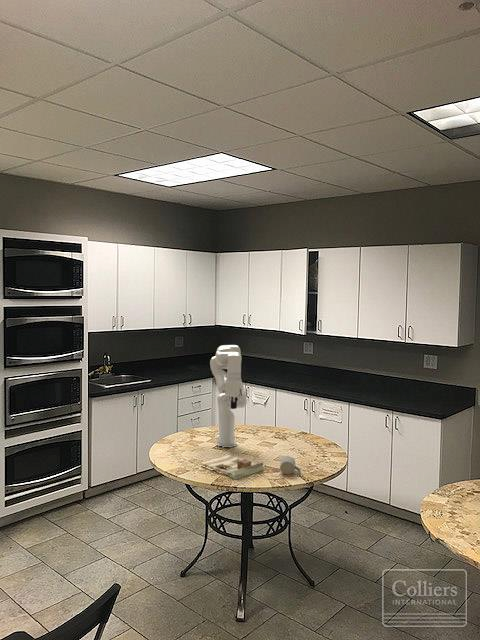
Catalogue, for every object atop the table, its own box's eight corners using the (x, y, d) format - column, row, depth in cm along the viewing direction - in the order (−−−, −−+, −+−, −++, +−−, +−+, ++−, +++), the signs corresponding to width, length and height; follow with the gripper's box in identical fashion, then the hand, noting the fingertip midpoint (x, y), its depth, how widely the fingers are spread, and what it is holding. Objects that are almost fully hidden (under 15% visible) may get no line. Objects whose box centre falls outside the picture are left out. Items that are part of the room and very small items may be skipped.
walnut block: (237, 468, 272) (237, 460, 272) (244, 466, 275) (244, 458, 275) (244, 470, 268) (244, 463, 268) (251, 468, 272) (251, 461, 272)
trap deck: (201, 466, 280) (201, 459, 280) (228, 458, 295) (228, 451, 294) (235, 479, 262) (235, 471, 262) (262, 469, 276) (263, 462, 276)
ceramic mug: (279, 475, 269) (280, 460, 268) (280, 469, 277) (280, 455, 276) (300, 476, 268) (301, 461, 267) (300, 471, 276) (301, 456, 275)
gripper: (220, 375, 299) (219, 407, 300) (238, 378, 288) (238, 411, 289) (229, 373, 304) (229, 405, 305) (248, 376, 294) (248, 409, 295)
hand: (233, 408), depth 297 cm, fingers closed
